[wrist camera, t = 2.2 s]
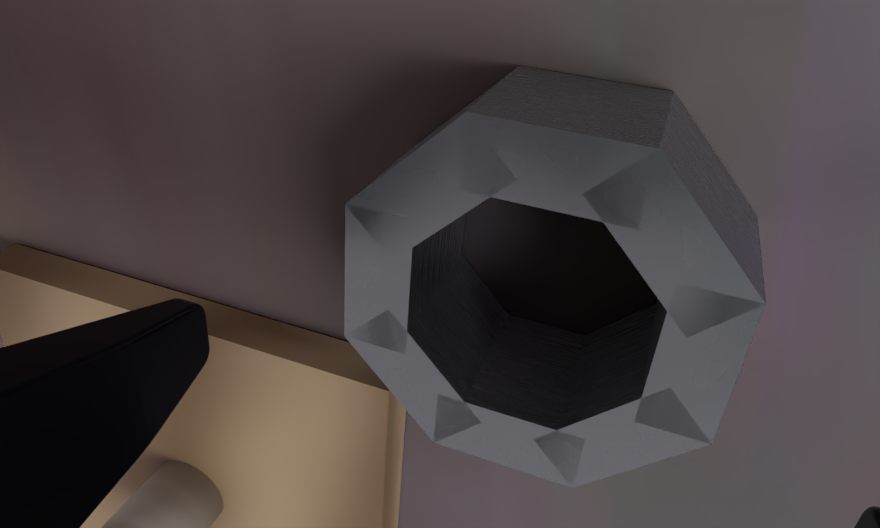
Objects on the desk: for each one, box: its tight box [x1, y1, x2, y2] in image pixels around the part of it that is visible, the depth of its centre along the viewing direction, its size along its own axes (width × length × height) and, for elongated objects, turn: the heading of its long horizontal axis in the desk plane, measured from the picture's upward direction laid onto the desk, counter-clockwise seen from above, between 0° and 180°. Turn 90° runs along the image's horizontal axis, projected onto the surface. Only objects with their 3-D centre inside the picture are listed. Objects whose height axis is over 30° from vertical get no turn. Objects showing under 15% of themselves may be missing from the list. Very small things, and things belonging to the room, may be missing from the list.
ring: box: [344, 65, 766, 488], centre depth 12 cm, size 6×6×3 cm
